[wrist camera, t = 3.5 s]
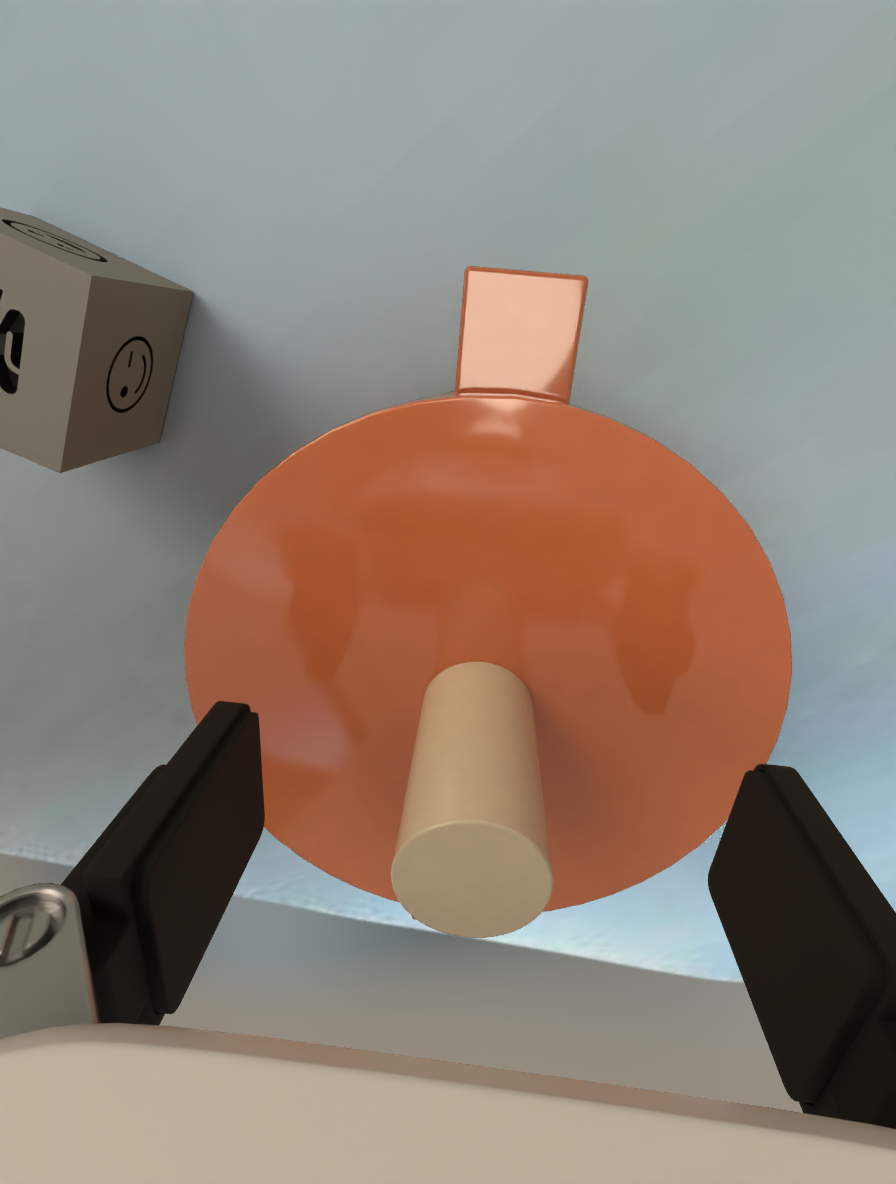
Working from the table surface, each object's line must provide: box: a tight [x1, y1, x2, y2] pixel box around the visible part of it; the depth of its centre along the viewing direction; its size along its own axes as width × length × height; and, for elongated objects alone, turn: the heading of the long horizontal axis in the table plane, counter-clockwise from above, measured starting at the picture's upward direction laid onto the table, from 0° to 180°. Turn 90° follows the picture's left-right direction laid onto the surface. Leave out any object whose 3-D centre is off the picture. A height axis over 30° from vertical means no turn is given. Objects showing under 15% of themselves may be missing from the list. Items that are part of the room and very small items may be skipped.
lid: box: [184, 393, 792, 938], centre depth 12 cm, size 14×14×6 cm
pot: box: [412, 266, 588, 920], centre depth 18 cm, size 13×18×8 cm
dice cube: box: [0, 208, 193, 473], centre depth 16 cm, size 5×5×5 cm
